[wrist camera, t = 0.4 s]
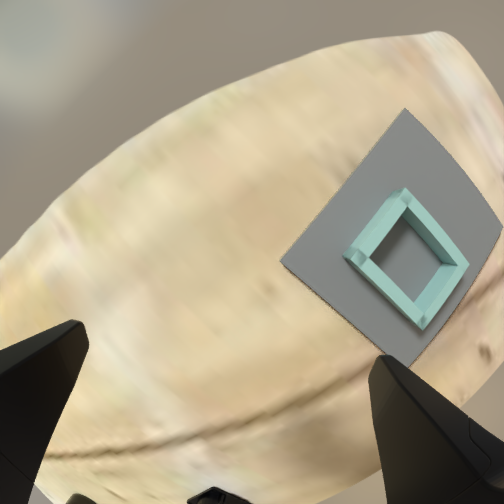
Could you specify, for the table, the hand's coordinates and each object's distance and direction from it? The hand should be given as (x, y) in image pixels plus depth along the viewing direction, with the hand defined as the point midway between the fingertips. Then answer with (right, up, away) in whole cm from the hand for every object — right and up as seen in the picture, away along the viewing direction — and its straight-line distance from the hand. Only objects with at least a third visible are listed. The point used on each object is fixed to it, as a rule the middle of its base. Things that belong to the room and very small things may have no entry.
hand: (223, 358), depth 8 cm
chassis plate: (+15, +4, +15) cm, 21 cm away
